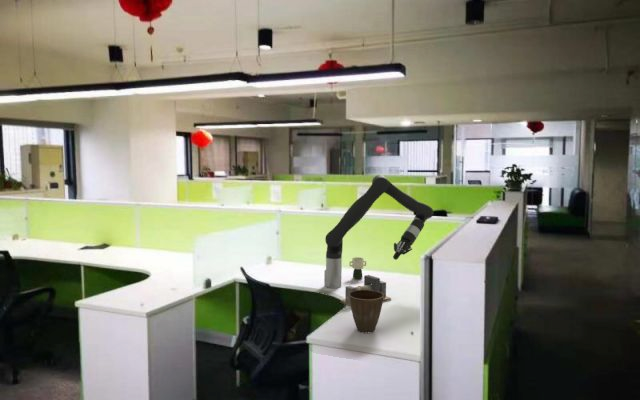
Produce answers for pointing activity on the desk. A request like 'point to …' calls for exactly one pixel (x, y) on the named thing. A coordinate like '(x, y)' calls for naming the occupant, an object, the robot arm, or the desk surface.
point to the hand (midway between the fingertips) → (394, 258)
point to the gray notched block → (372, 282)
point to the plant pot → (366, 309)
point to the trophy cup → (357, 267)
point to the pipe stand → (366, 287)
